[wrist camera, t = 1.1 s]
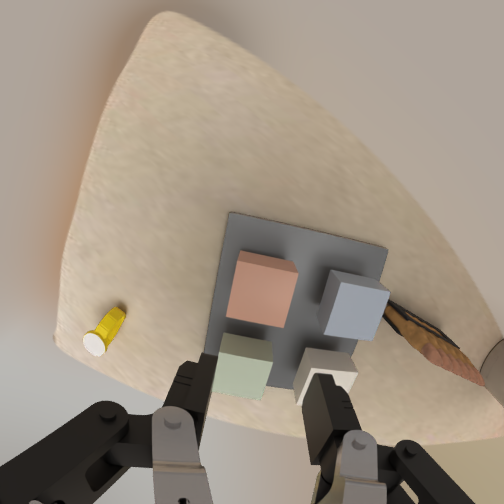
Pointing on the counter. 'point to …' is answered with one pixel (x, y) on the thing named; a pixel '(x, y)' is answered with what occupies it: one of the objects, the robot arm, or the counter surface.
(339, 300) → the slate key
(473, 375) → the ammunition clip
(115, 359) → the counter surface
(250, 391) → the sage key
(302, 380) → the cream key
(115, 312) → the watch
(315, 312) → the keypad board
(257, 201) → the counter surface
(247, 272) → the terracotta key
